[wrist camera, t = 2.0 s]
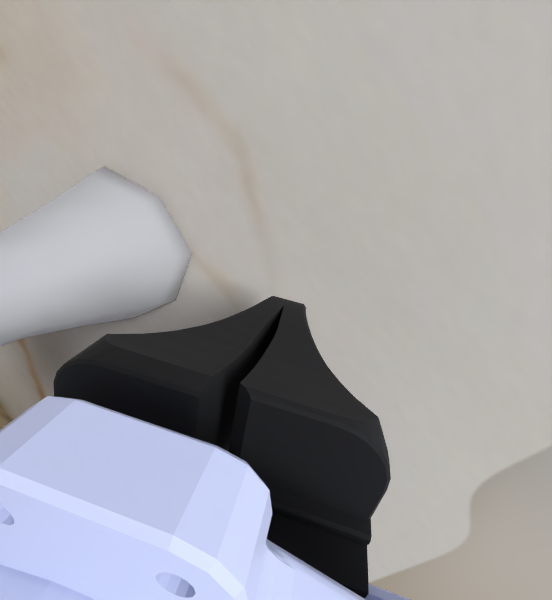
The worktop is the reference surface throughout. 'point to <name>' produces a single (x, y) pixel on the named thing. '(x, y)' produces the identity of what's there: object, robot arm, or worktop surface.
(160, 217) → the flask
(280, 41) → the worktop surface
